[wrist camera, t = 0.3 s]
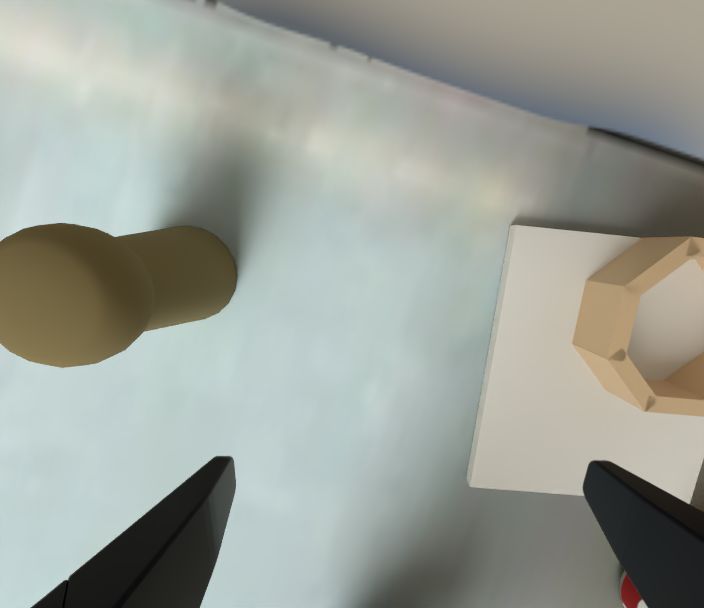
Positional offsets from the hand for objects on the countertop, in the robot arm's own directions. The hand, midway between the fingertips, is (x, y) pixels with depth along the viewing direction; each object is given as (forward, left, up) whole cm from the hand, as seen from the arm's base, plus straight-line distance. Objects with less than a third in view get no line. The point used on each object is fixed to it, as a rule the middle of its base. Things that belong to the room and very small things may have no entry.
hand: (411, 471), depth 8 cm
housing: (-1, -16, -14) cm, 21 cm away
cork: (+3, +12, -14) cm, 19 cm away
